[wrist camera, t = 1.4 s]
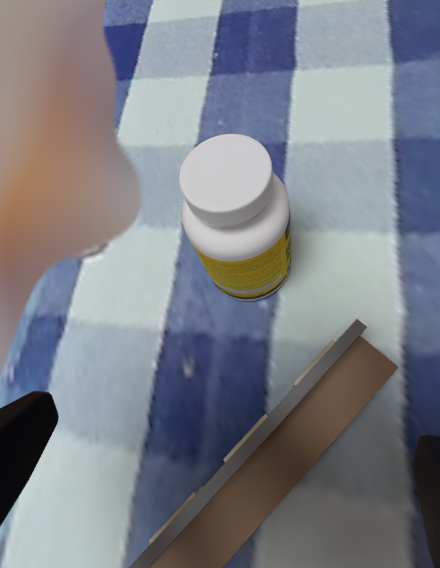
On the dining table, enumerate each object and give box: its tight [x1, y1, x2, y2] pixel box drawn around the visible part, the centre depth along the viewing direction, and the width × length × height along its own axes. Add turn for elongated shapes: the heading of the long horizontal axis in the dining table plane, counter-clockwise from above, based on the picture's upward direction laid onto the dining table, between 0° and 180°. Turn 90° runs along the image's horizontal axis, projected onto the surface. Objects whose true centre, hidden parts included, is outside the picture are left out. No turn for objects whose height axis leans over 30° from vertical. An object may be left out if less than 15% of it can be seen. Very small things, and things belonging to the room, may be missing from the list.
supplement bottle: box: [179, 134, 291, 301], centre depth 19 cm, size 5×5×10 cm
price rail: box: [129, 319, 398, 568], centre depth 18 cm, size 16×3×4 cm, turn 135°
